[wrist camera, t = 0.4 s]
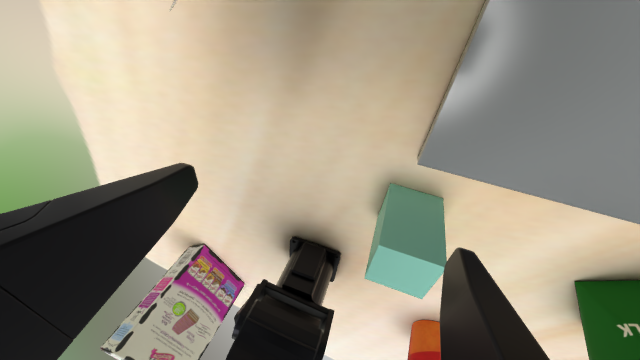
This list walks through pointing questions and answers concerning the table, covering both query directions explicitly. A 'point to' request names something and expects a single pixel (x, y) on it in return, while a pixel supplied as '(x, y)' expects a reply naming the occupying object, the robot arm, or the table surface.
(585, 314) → the milk carton
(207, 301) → the candy bar box
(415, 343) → the paper cup
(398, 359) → the table surface
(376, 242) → the block
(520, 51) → the board
